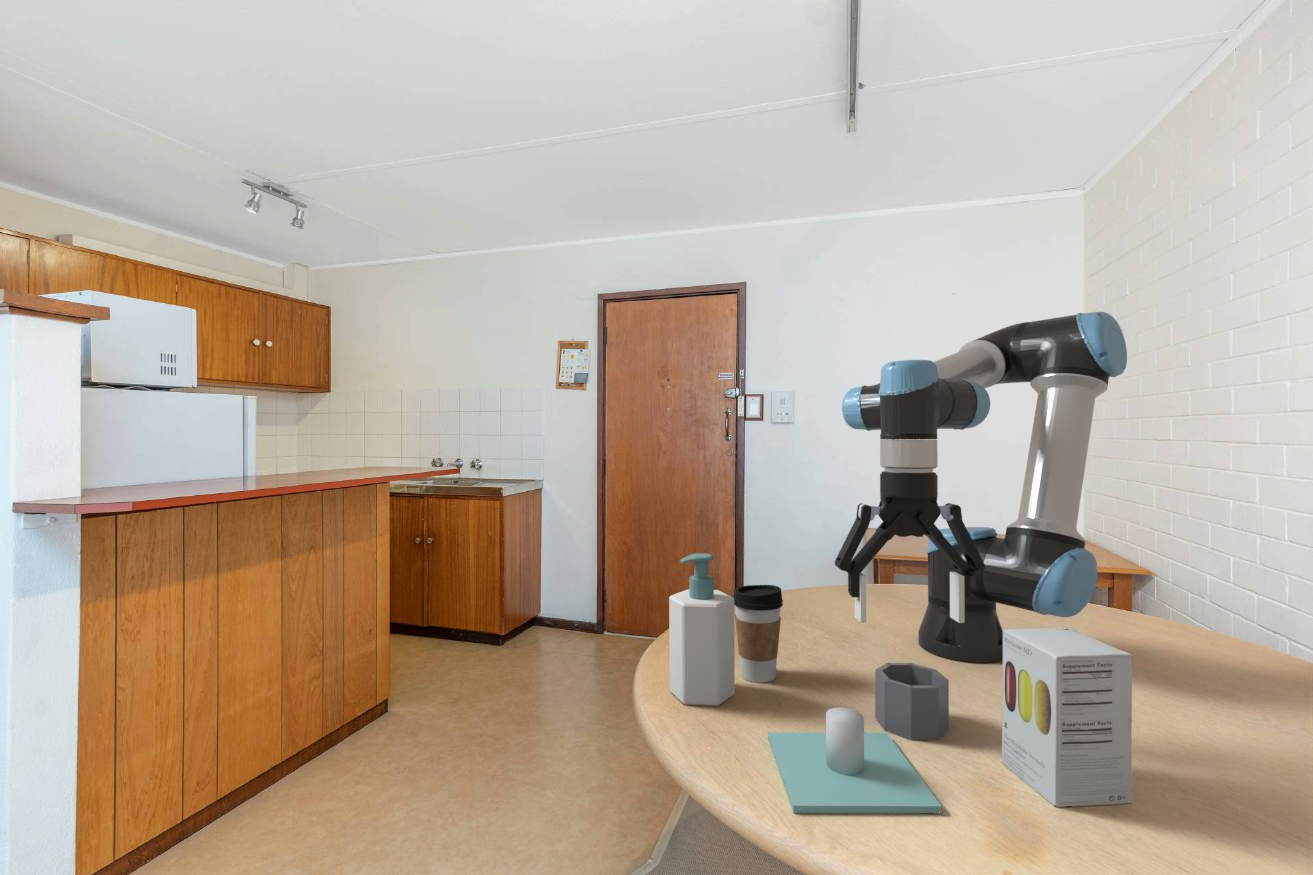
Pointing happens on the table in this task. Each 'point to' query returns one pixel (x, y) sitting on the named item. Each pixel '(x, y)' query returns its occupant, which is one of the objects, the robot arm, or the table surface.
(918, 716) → the hollow octagonal tube
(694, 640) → the soap bottle
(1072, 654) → the supplement box
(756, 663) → the coffee cup
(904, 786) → the teal base with peg
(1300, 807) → the table surface
